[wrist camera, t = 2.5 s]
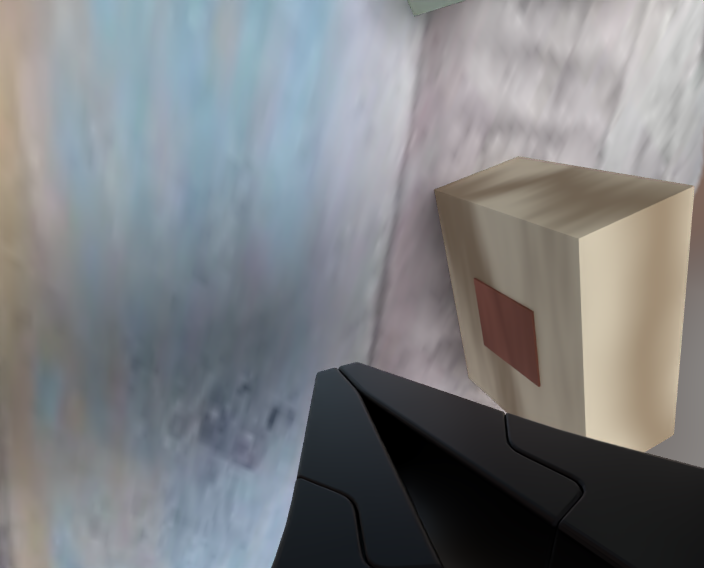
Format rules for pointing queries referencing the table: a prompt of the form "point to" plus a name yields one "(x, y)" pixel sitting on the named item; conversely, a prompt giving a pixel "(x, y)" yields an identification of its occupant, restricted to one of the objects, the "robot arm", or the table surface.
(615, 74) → the table surface
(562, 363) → the birch block
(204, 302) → the table surface
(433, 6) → the sage block
